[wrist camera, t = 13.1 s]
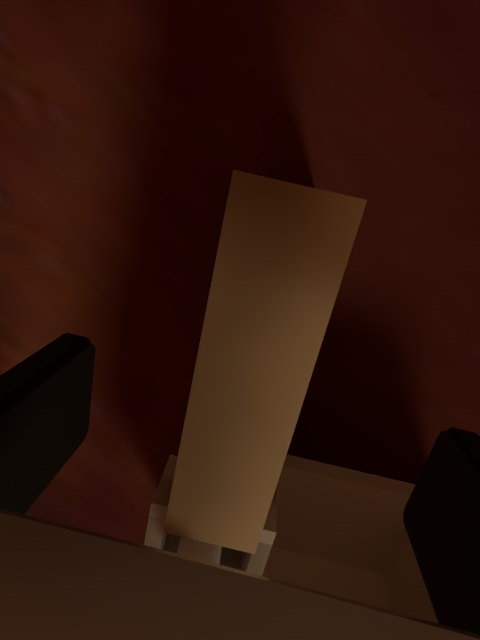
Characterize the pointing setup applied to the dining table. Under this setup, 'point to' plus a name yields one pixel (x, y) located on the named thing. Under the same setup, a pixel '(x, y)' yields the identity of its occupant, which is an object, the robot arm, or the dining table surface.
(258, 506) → the door
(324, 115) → the dining table surface
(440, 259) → the dining table surface
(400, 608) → the white box
